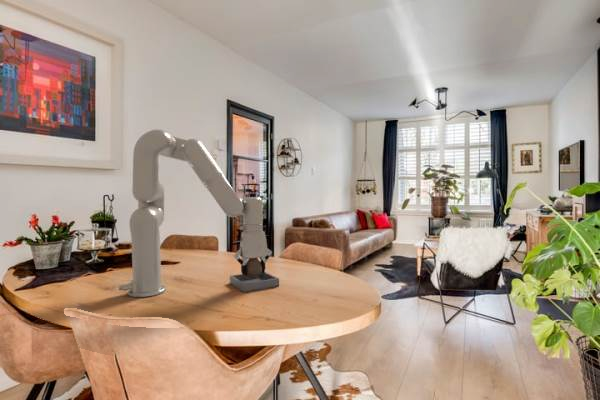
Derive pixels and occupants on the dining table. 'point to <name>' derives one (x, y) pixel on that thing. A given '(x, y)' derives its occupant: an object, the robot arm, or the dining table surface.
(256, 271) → the vase
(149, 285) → the robot arm
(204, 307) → the dining table surface
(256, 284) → the tray
